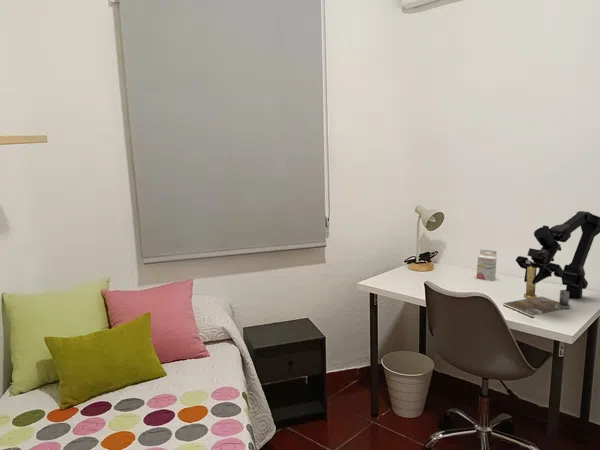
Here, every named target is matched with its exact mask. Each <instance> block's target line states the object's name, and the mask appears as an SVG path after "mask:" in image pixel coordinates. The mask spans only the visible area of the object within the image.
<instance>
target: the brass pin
mask: <svg viewBox="0 0 600 450" xmlns="http://www.w3.org/2000/svg"><path fill="white" fill-rule="evenodd" d="M537 269H538V268H537V267H535V266H528V267H527V282H525V283H526V286H525V287H526V288H525V293H524V294H523V298H524V299H525V300H526V299H527V300H531V299H532V300H538V299H537V298H538V295H537V294H536V284H537V283H536V284H533V280H534V279H535V277H536V275H537Z"/></svg>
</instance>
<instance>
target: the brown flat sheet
mask: <svg viewBox="0 0 600 450" xmlns="http://www.w3.org/2000/svg"><path fill="white" fill-rule="evenodd" d="M558 303H559V301H555V300H553V299H550V298H546V297H544V296H537V299H534V300H533V299H530V300H528V299H526V298H525V299H523V300H522V299H521V300H515V301H511V302H509V303H508V302H505V303H503V305H502V307H505V308H506V309H507V308H508V309H509V310H512V311H514V312H516V311H517V313H519V314H521V315H523V316H526V317H529V318H531V319H534V318H535V317H534V316H537V315H541V314H546V313H548V314H549V313H551V312H557V311H563V310H564V311H569V310H572V309H573V307H572V306H570V309H561V308H558V307H557V304H558Z"/></svg>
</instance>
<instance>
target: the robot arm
mask: <svg viewBox="0 0 600 450" xmlns="http://www.w3.org/2000/svg"><path fill="white" fill-rule="evenodd" d="M579 228H581V229H580V230H581V232H582V233H581V236H580V239H579V241H578V244H577V246H576V250H575V252H574V254H573V257H572V260H571V262H570V263H569V264H565V265H564V266H563V268H562V266H561V265H560V264H558V263H553V262H555V258H554V257H555V255H556V254H557V252H558V251H560V252H561V251H562V247H561V243H566V242H567V241H568V240H569V239H570V238H571V237H572V233H573V232H575V231H576V230H577V229H579ZM599 234H600V216H598V215H595V214H593V213H591V212H590V211H584V210H580V211H576V214H574V215H573V216H572V217H570V218H568V219H567V220H566V221H565V222H563V223H561V224H555V225H553V226H552V227H549V226H548V225H545V224H544V225H542V226H541V227H539V228H537V229H536V230H534V232H533V236H534V237H535V239H536V241H537V242H538V243H539V245H540V246H542V247H540V249H535V248H531V247H530V248H529V249H528V252H527V257H525V256H522V255H519V256H517V257H516V259H515V262H516V263H517V264H518V266H519V267H520V268H521V269H524V270H525V273H524V280H523V281H524V283H527V267H528V266H535V267H537V269H538V272H537V273H536V277H535V279H534V280H533V284H538V283H540V282H541V281H543V280H545V279H547V278H550V277H551V278H552V274H553V276H555V278H556V277H558V278H560V279H561V284H562V285H563V286H566V287H565V290H567V291H569V300H572V299H573V300H580V299H581V298H582V297H583V290H587V289H586V288H587V287H588V285H589V283H588V280H587V279H586V278H585V276H586V271H585V268H584V266H585V263H586V262H587V257H588V255H589V253H590V250H591V247H592V246H593V245H592V244H593V242H594V239H595V237H596V236H597V235H599ZM559 242H561V243H559ZM528 257H530V259H531V260H529V258H528Z"/></svg>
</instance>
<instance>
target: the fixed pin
mask: <svg viewBox="0 0 600 450" xmlns="http://www.w3.org/2000/svg"><path fill="white" fill-rule="evenodd" d="M558 300H559V301H558V302H559V303H558V304H556V305H557V307H558V309H559V308H561V309H570V307H571V305H570V303H569V300H570V299H569V291H567V290H566V289H560V290H559V299H558ZM570 310H571V309H570Z"/></svg>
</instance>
